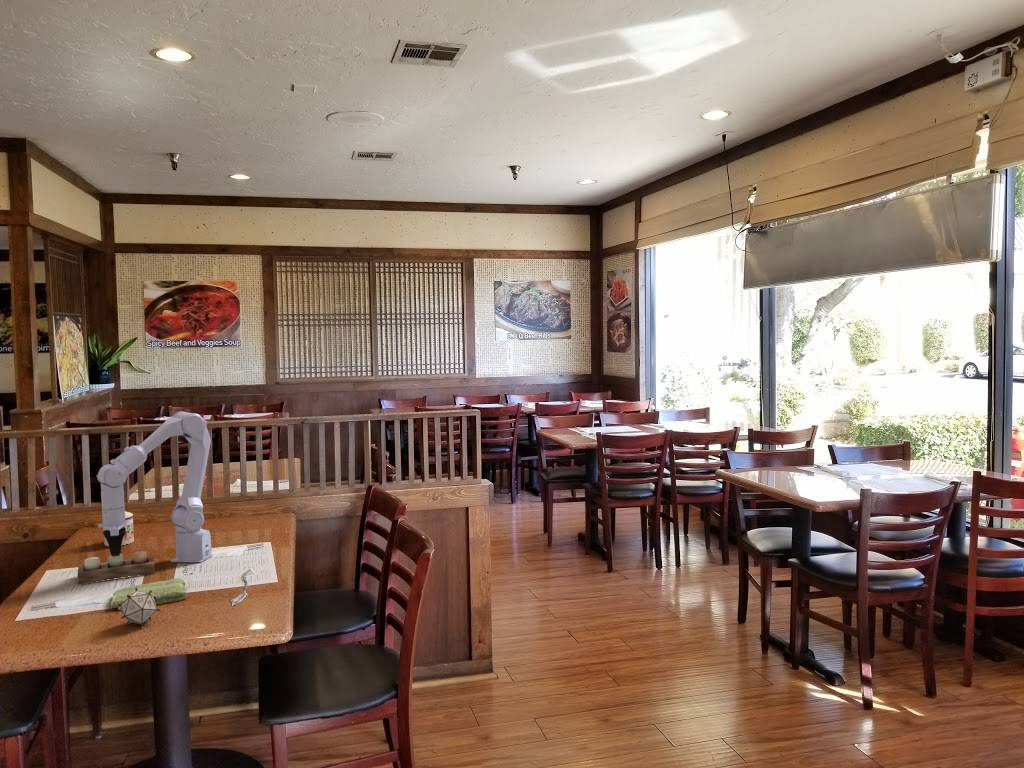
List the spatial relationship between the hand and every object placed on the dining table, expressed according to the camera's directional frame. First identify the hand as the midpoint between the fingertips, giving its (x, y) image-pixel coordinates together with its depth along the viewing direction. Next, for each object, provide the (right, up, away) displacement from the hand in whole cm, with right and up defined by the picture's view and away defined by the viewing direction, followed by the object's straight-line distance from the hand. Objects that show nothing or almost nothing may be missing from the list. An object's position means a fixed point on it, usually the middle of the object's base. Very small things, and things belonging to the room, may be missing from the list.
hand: (115, 555), depth 222 cm
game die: (+24, -8, -37) cm, 45 cm away
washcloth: (+18, -8, -19) cm, 28 cm away
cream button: (-5, -3, -3) cm, 7 cm away
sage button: (0, -3, 0) cm, 3 cm away
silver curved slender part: (+39, -7, -11) cm, 41 cm away
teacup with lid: (-16, -4, +35) cm, 39 cm away
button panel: (0, -6, 0) cm, 6 cm away
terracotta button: (+5, -2, +3) cm, 7 cm away
